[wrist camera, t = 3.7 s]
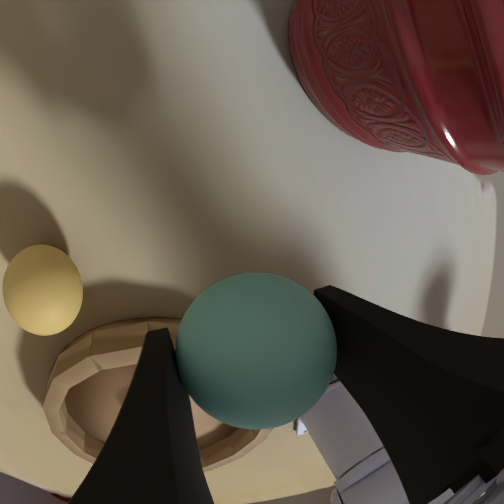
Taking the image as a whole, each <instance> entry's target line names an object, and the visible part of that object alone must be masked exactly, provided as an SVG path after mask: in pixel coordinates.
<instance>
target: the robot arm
mask: <svg viewBox="0 0 504 504" xmlns="http://www.w3.org/2000/svg"><path fill="white" fill-rule="evenodd" d="M314 296H315V297H316V298H317V299H318V301H319V302H320V303H321V304H322V306H323V307H324V308H325V310H326V312H327V314H328V316H329V317H330V319H331V321H332V325H333V328H334V331H335V335H336V342H337V359H336V366H335V370H334V374H335V375H336V377H337V378H338V379H339V380H340V381H338V382H335V383H333V384H331V385H329V386H328V388H327V390H326V391H325V393H324V394H323V396H322V397H321V398H320V399H319V401H318V402H317V403H316V404H315V405H314V406H313V407H312V408H311V409H310V410H309V411H308V412H306V413H305V414H304V415H302V416H300V417H299V418H297V428H296V433H297V435H302V434H305V433H307V432H309V434H310V436H311V438H312V439H313V441H314V443H315V444H316V446H317V448H318V450H319V451H320V453H321V455H322V456H323V458H324V460H325V461H326V463H327V465H328V466H329V468H330V470H331V471H332V473H333V475H334V476H335V478H336V480H337V481H335V482H334V484H335V486H336V488H337V489H335V490H333V491H332V496H331V499H330V501H331V504H504V339H503V338H490V337H482V336H475V335H470V334H464V333H459V332H454V331H450V330H446V329H442V328H439V327H435V326H431V325H428V324H425V323H422V322H419V321H416V320H413V319H411V318H408V317H405V316H402V315H400V314H397V313H395V312H392V311H390V310H387V309H385V308H383V307H380V306H378V305H376V304H373V303H371V302H369V301H367V300H364V299H362V298H360V297H357V296H355V295H353V294H351V293H348V292H346V291H344V290H341V289H339V288H336V287H334V286H331V285H329V286H326V287H323V288H319V289H316V290H314ZM484 491H485V494H484V495H483V496H481V497H480V495H481V494H482V493H483V492H484ZM453 494H454V495H453ZM479 497H480V498H479ZM68 504H214V502H213V499H212V496H211V493H210V491H209V488H208V485H207V482H206V479H205V476H204V472H203V468H202V464H201V460H200V455H199V449H198V444H197V438H196V433H195V427H194V421H193V414H192V408H191V402H190V398H189V394H188V393H187V391H186V389H185V387H184V385H183V383H182V381H181V379H180V376H179V372H178V369H177V364H176V355H175V348H174V345H173V342H172V339H171V336H170V333H169V330H168V327H166V328H162V329H157V330H152V331H148V332H147V334H146V335H145V339H144V343H143V346H142V350H141V353H140V356H139V360H138V363H137V366H136V369H135V372H134V374H133V377H132V380H131V383H130V386H129V389H128V391H127V394H126V396H125V399H124V401H123V404H122V406H121V409H120V411H119V414H118V416H117V418H116V420H115V423H114V425H113V427H112V429H111V431H110V433H109V435H108V437H107V439H106V442H105V444H104V446H103V447H102V449H101V451H100V453H99V455H98V456H97V458H96V460H95V462H94V464H93V466H92V467H91V469H90V471H89V472H88V474H87V476H86V477H85V479H84V480H83V482H82V483H81V485H80V486H79V488H78V489H77V491H76V492H75V494H74V495H73V497H72V498H71V499H70V501H69V502H68Z"/></svg>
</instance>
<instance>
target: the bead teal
mask: <svg viewBox="0 0 504 504" xmlns="http://www.w3.org/2000/svg"><path fill="white" fill-rule="evenodd" d="M175 355H176V364H177V369H178V372H179V376H180V379H181V381H182V383H183V385H184V387H185V389H186V391H187V393H188V394H189V395H190V397H191V398H192V399H193V400H194V402H195V403H196V404H197V405H198V406H199V407H200V408H201V409H202V410H203V411H205V412H206V413H207V414H208V415H210V416H212V417H213V418H215V419H217V420H219V421H220V422H223V423H226V424H228V425H231V426H234V427H238V428H244V429H269V428H274V427H278V426H281V425H284V424H287V423H289V422H291V421H293V420H295V419H297V418H299V417H300V416H302V415H304V414H305V413H306V412H308V411H309V410H310V409H311V408H312V407H313V406H314V405H315V404H316V403H317V402H318V401H319V399H320V398H321V397H322V396H323V394H324V393H325V391H326V390H327V388H328V386H329V384H330V382H331V379H332V377H333V374H334V370H335V366H336V359H337V342H336V335H335V331H334V328H333V325H332V321H331V319H330V317H329V316H328V314H327V312H326V310H325V308H324V307H323V306H322V304H321V303H320V302H319V301H318V299H317V298H316V297H315V296H314V295H313V294H312V293H311V292H309V291H308V290H307V289H306V288H305V287H303V286H302V285H300V284H298V283H296V282H295V281H293V280H291V279H288V278H286V277H283V276H280V275H277V274H272V273H264V272H247V273H241V274H236V275H233V276H229V277H227V278H224V279H222V280H220V281H218V282H216V283H214V284H213V285H211V286H210V287H208V288H207V289H205V290H204V291H203V292H202V293H201V294H200V295H199V296H198V297H197V298H196V299H195V300H194V301H193V302H192V304H191V305H190V306H189V308H188V309H187V311H186V312H185V314H184V316H183V318H182V321H181V323H180V326H179V329H178V332H177V337H176V346H175Z"/></svg>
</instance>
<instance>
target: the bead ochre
mask: <svg viewBox="0 0 504 504" xmlns="http://www.w3.org/2000/svg"><path fill="white" fill-rule="evenodd" d="M3 297H4V301H5V305H6V307H7V310H8V312H9V313H10V315H11V317H12V318H13V320H14V321H15V322H16V323H17V324H18V325H19V326H20V327H22V328H23V329H24V330H26V331H28V332H30V333H33V334H36V335H42V336H48V335H53V334H57V333H59V332H61V331H63V330H65V329H66V328H67V327H68V326H69V325H71V324H72V322H73V321H74V320H75V318H76V317H77V315H78V313H79V310H80V308H81V304H82V299H83V286H82V280H81V277H80V274H79V271H78V269H77V267H76V266H75V264H74V263H73V261H72V260H71V259H70V258H69V256H67V255H66V254H65V253H64V252H63V251H61V250H59V249H58V248H55V247H53V246H49V245H43V244H40V245H33V246H29V247H27V248H25V249H23V250H21V251H20V252H19V253H17V254H16V255H15V256H14V257H13V259H12V260H11V261H10V263H9V265H8V266H7V269H6V272H5V274H4V279H3Z"/></svg>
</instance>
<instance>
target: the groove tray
mask: <svg viewBox="0 0 504 504" xmlns="http://www.w3.org/2000/svg"><path fill="white" fill-rule="evenodd" d="M181 321H182V319H177V318H160V317H154V318H136V319H130V320H123V321H118V322H114V323H110V324H106V325H103V326H100V327H98V328H95V329H93V330H90V331H88V332H86V333H85V334H83V335H81V336H79V337H78V338H76V339H75V340H74V341H72V342H71V343H70V344H69V345H68V346H66V347H65V349H64V350H63V351H62V352H61V353H60V355H59V356H58V358H57V360H56V362H55V363H54V366H53V369H52V373H51V375H50V378H49V381H48V383H47V387H46V392H45V397H44V402H43V409H44V412H45V415H46V418H47V420H48V423H49V426H50V429H51V431H52V433H53V434H54V435H55V436H56V437H57V438H58V439H59V440H60V441H61V442H62V443H63V444H64V445H65V446H66V447H67V448H68V449H69V450H71V451H72V452H73V453H74V454H75V455H77V456H79V457H81V458H83V459H85V460H87V461H89V462H91V463H93V464H94V462H95V460H96V458H97V456H98V455H99V453H100V451H101V449H102V447H103V446H104V444H105V442H106V439H107V437H108V435H109V433H110V431H111V429H112V427H113V425H114V423H115V420H116V418H117V416H118V414H119V411H120V409H121V406H122V404H123V401H124V399H125V396H126V394H127V391H128V389H129V386H130V383H131V380H132V377H133V374H134V372H135V369H136V366H137V363H138V360H139V356H140V353H141V350H142V346H143V343H144V339H145V335H146V334H147V332H148V331H152V330H157V329H162V328H166V327H168V330H169V333H170V336H171V339H172V342H173V345H174V348H175V346H176V337H177V332H178V329H179V326H180V323H181ZM189 398H190V402H191V408H192V414H193V421H194V427H195V433H196V438H197V444H198V449H199V455H200V460H201V464H202V468H203V472H205V471H210V470H213V469H215V468H218V467H220V466H223V465H225V464H227V463H230V462H232V461H234V460H237V459H239V458H241V457H243V456H244V455H246V454H247V453H248V452H250V451H251V450H252V449H254V448H255V447H256V446H258V445H259V444H260V443H261V442H263V441H264V440H265V439H266V438H267V437H268V436H269V434H270V432H271V431H272V429H273V428H269V429H244V428H238V427H234V426H231V425H228V424H226V423H223V422H220V421H219V420H217V419H215V418H213V417H212V416H210V415H208V414H207V413H206V412H205V411H203V410H202V409H201V408H200V407H199V406H198V405H197V404H196V403H195V402H194V400H193V399H192V398H191V397H190V395H189Z"/></svg>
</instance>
